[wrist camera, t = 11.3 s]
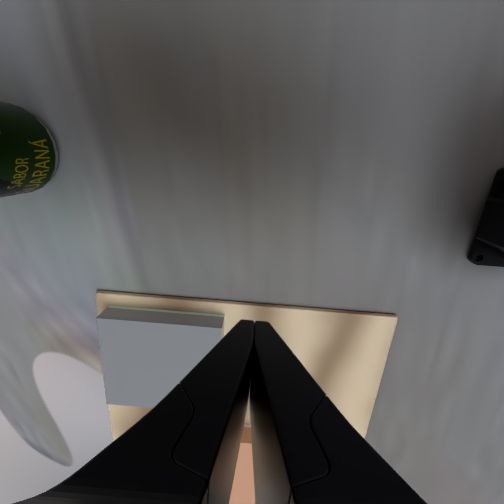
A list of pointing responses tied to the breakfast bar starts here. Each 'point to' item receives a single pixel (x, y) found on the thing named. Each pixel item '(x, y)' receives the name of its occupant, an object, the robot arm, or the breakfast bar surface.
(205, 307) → the oak board
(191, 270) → the breakfast bar surface
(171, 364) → the slate tile
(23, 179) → the guarana soda can
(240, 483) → the terracotta tile
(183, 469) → the robot arm
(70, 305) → the breakfast bar surface
